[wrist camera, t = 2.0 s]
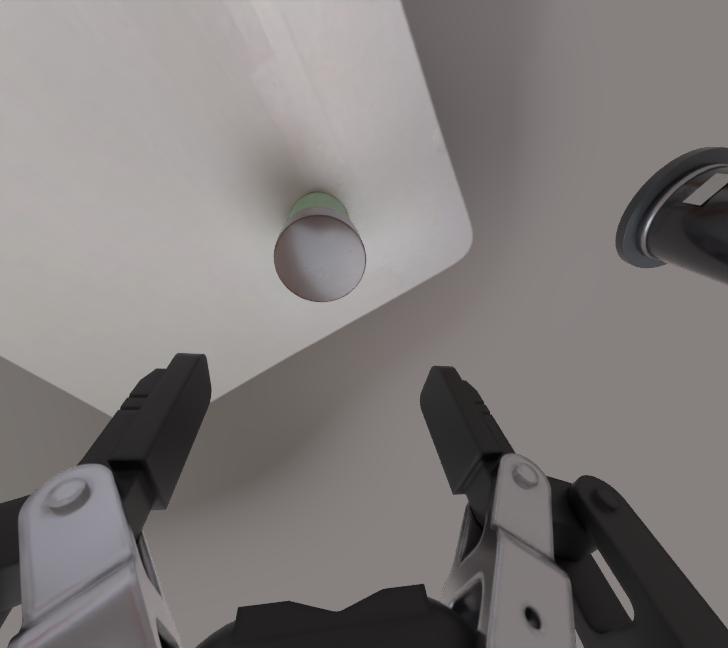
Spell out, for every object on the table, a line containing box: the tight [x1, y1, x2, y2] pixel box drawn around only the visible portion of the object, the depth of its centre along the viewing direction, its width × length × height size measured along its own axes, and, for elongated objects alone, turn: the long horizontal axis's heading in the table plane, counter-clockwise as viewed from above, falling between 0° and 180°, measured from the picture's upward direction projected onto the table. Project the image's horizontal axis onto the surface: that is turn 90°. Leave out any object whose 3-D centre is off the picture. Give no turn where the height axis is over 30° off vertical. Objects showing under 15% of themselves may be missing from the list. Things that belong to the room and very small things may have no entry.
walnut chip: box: [274, 207, 366, 302], centre depth 19 cm, size 6×6×2 cm
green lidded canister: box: [288, 192, 350, 220], centre depth 23 cm, size 6×6×7 cm
